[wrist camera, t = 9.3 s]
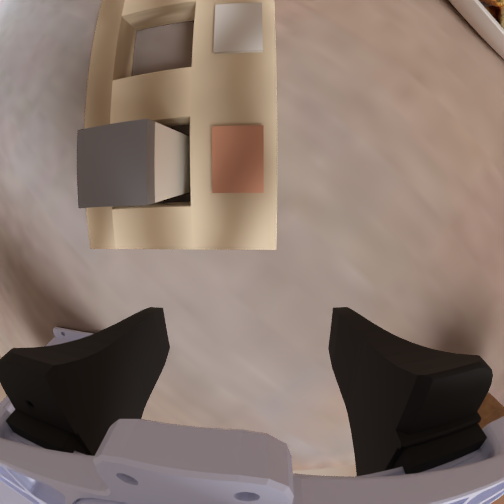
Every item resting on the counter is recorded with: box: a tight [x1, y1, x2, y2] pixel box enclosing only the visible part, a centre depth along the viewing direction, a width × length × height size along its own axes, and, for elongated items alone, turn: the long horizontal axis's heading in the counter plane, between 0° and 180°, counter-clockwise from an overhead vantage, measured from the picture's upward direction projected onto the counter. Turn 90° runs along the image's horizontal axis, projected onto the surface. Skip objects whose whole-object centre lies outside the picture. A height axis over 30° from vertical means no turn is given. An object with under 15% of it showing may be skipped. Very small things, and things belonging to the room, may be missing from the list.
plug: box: [77, 119, 190, 208], centre depth 16 cm, size 4×4×8 cm
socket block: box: [84, 0, 277, 250], centre depth 17 cm, size 13×20×3 cm, turn 0°
